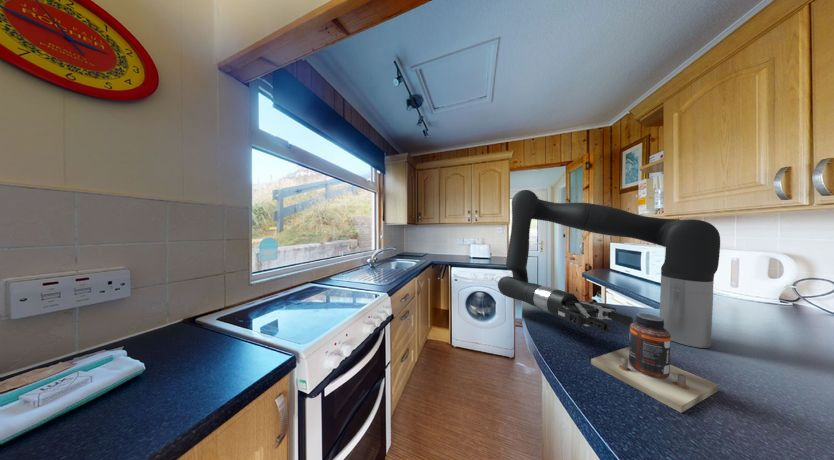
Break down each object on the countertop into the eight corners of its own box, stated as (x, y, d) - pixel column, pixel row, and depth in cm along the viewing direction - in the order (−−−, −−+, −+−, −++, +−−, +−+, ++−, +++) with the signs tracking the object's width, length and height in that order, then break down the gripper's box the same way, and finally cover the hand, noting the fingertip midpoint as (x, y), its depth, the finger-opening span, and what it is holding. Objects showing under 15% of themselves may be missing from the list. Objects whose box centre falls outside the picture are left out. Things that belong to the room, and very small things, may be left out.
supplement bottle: (679, 381, 43) (681, 324, 43) (642, 377, 44) (644, 321, 44) (653, 363, 49) (655, 312, 49) (621, 359, 50) (623, 310, 50)
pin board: (627, 351, 56) (627, 339, 56) (718, 390, 43) (718, 374, 42) (591, 364, 51) (591, 350, 50) (681, 413, 38) (681, 394, 37)
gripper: (537, 291, 63) (602, 313, 48) (571, 286, 69) (639, 304, 53) (537, 317, 64) (601, 347, 49) (570, 310, 69) (638, 335, 54)
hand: (621, 324), depth 51 cm, fingers open, 8 cm apart
